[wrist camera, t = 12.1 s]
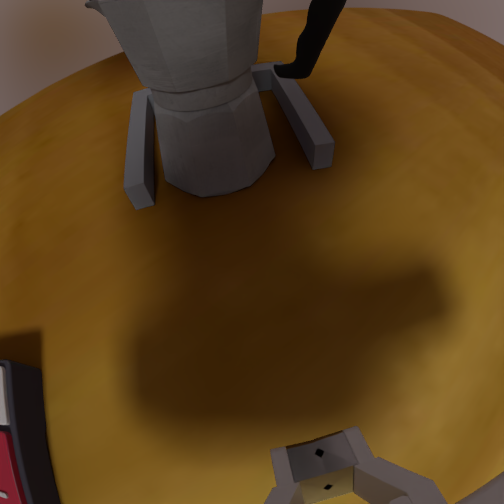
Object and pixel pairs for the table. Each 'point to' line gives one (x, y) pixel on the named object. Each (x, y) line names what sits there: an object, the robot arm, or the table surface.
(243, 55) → the coffeepot
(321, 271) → the table surface
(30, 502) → the calculator
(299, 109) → the dock
